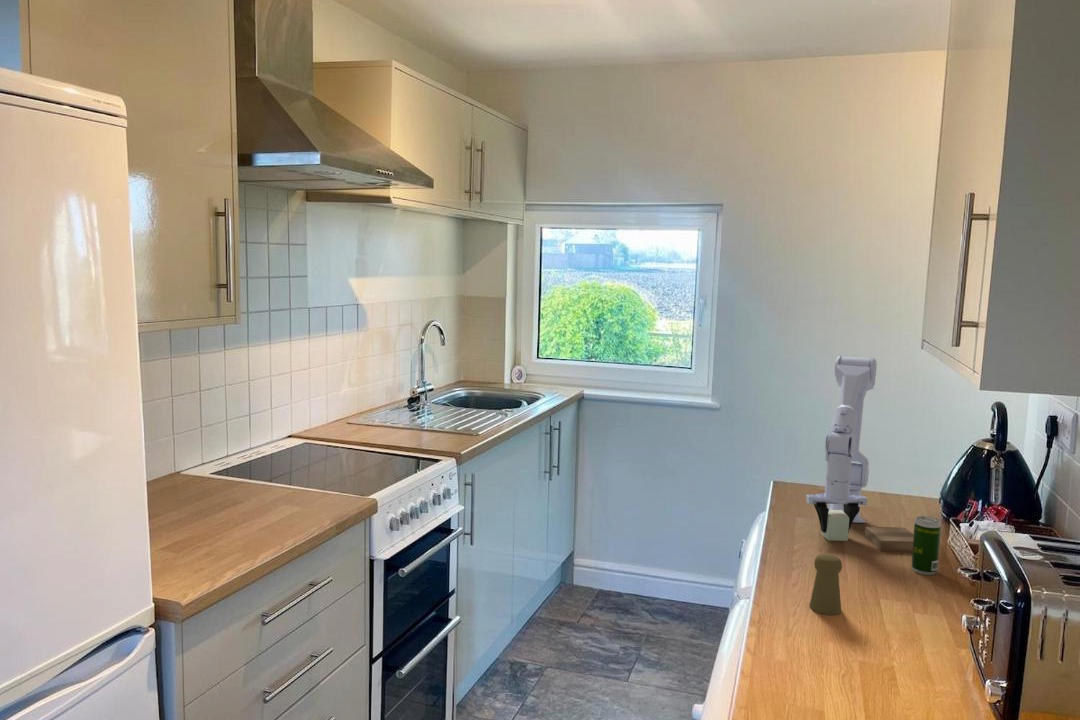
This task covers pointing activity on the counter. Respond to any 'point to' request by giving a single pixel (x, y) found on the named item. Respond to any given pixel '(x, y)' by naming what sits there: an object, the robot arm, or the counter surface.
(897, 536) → the walnut block
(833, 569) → the olive pepper mill
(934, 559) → the beer can
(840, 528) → the tea tin
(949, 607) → the counter surface
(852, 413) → the robot arm
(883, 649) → the counter surface
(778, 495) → the counter surface
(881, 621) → the counter surface
